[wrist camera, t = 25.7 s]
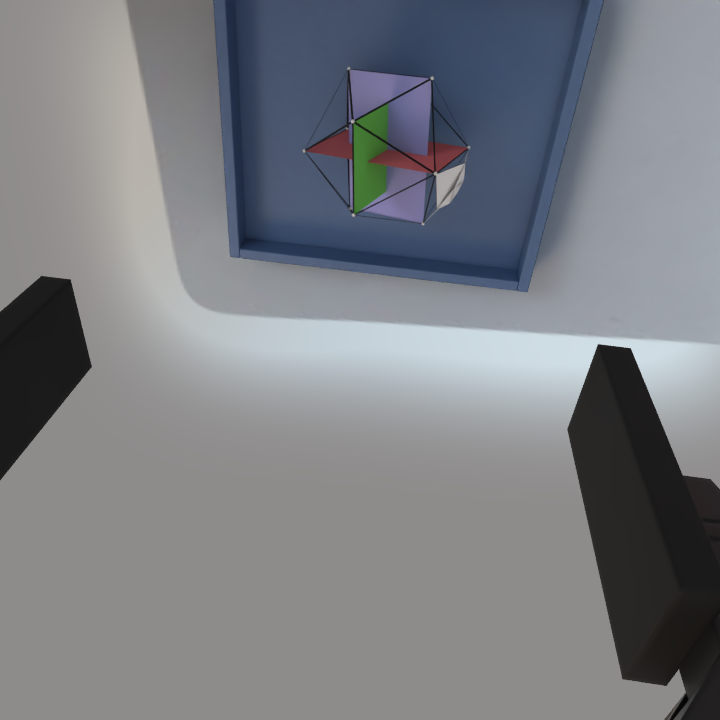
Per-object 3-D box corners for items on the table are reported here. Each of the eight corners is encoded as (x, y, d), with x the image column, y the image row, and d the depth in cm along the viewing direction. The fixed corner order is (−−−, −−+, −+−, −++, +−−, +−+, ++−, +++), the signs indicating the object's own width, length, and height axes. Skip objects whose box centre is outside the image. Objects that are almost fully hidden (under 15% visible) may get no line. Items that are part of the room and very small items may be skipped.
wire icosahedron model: (288, 205, 33) (363, 265, 27) (277, 64, 29) (364, 101, 23) (401, 180, 35) (491, 231, 30) (406, 49, 31) (511, 79, 26)
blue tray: (239, 242, 37) (229, 257, 36) (222, -60, 28) (208, -59, 27) (524, 275, 36) (527, 292, 35) (601, -28, 27) (610, -24, 26)
